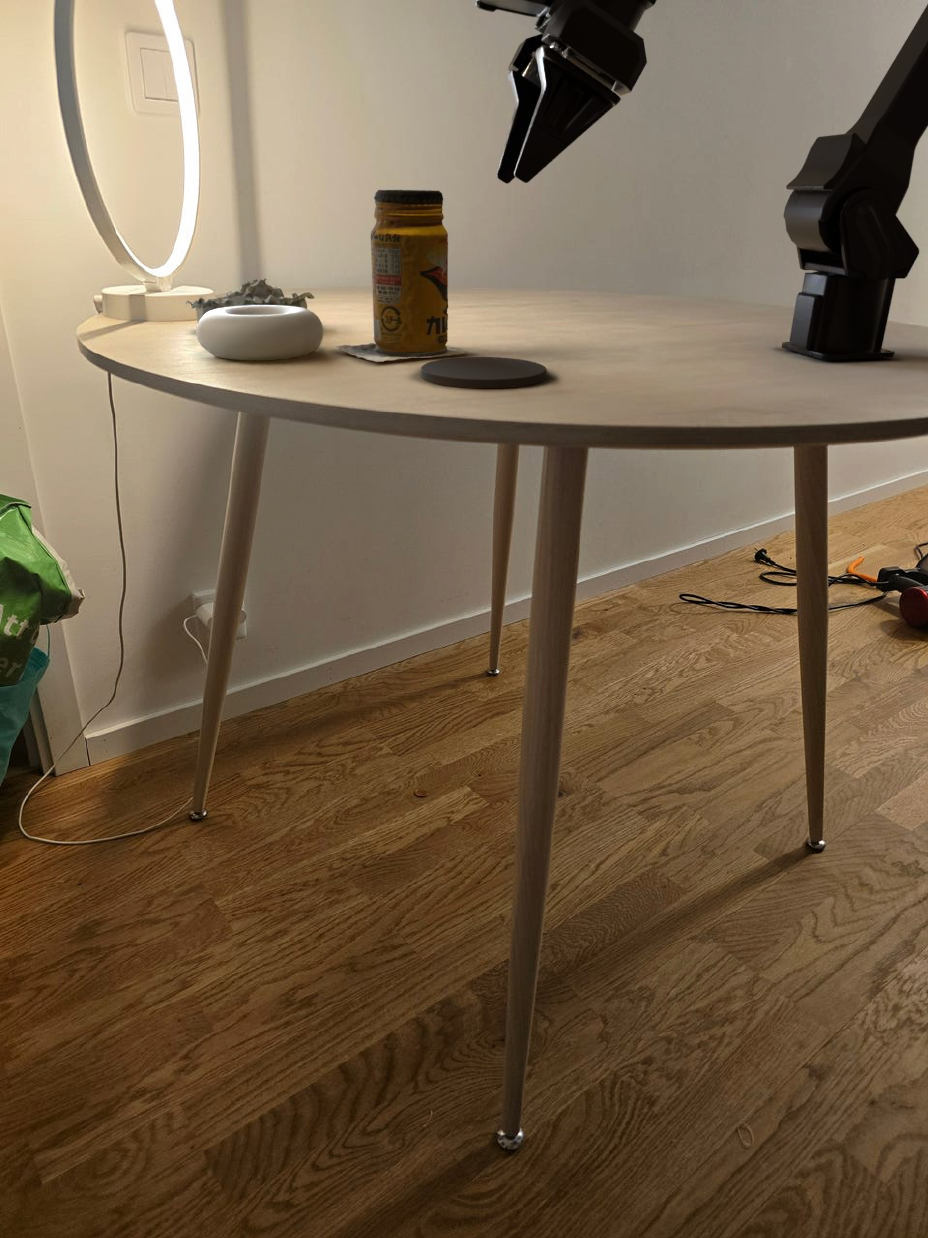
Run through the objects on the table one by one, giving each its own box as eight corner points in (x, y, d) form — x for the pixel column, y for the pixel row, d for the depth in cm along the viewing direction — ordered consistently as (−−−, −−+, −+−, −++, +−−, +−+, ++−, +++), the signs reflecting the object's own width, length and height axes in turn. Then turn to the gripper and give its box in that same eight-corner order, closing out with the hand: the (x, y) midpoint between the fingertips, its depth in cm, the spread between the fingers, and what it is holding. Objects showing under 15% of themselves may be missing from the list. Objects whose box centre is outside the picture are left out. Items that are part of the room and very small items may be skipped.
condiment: (468, 354, 72) (470, 189, 66) (376, 364, 67) (370, 189, 62) (422, 342, 77) (420, 189, 72) (334, 350, 73) (325, 188, 68)
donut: (241, 342, 77) (172, 358, 69) (238, 300, 76) (167, 311, 67) (345, 349, 74) (287, 366, 66) (343, 306, 73) (283, 318, 64)
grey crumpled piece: (270, 320, 90) (266, 277, 88) (323, 327, 86) (321, 281, 84) (183, 331, 82) (177, 284, 80) (238, 339, 78) (233, 289, 76)
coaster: (524, 362, 68) (524, 354, 68) (564, 385, 61) (564, 376, 60) (410, 366, 66) (410, 358, 66) (435, 391, 59) (435, 381, 58)
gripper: (505, -83, 66) (407, 126, 71) (552, -175, 49) (420, 107, 54) (627, 7, 69) (525, 201, 74) (710, -51, 52) (571, 204, 58)
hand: (510, 180), depth 65 cm, fingers open, 9 cm apart
